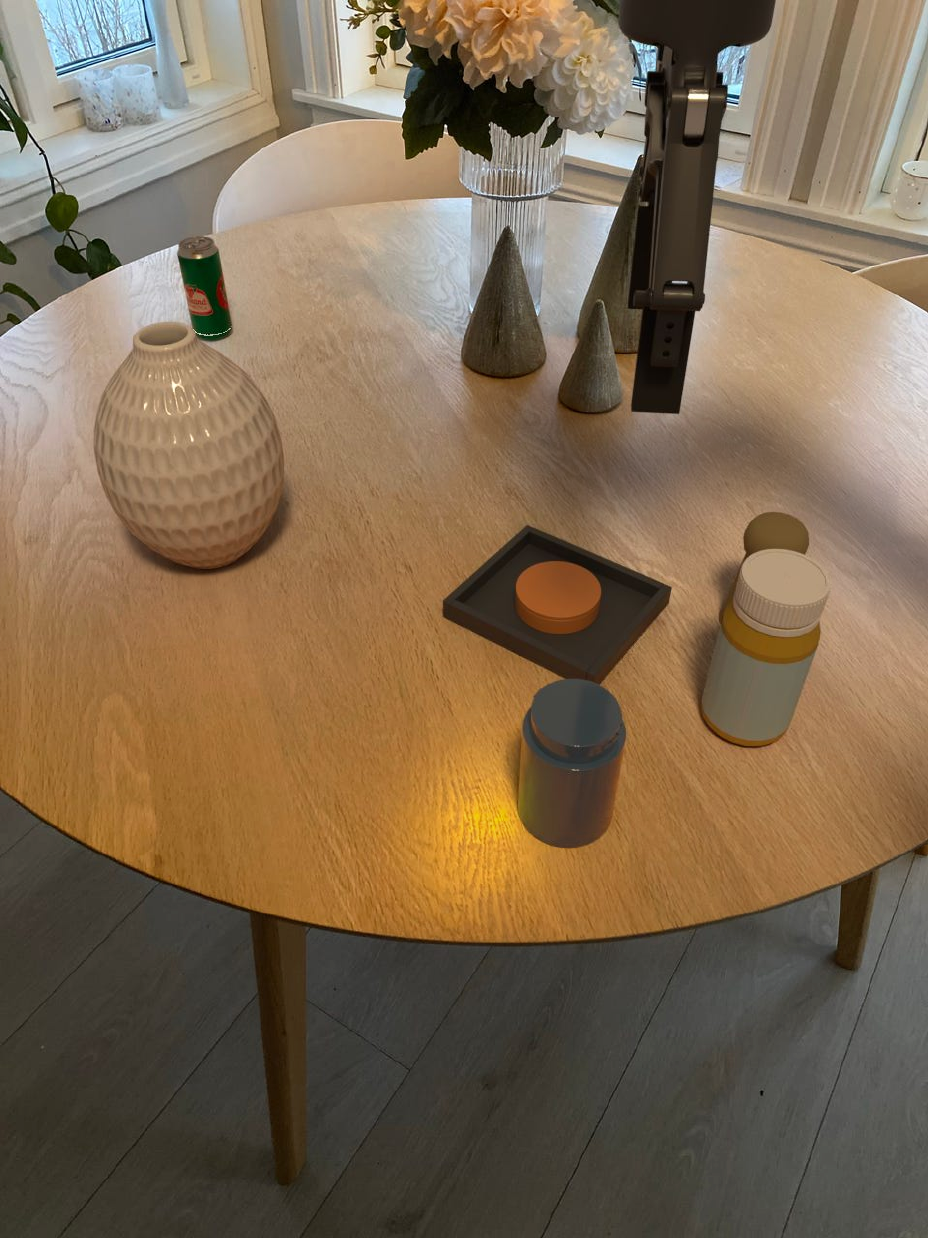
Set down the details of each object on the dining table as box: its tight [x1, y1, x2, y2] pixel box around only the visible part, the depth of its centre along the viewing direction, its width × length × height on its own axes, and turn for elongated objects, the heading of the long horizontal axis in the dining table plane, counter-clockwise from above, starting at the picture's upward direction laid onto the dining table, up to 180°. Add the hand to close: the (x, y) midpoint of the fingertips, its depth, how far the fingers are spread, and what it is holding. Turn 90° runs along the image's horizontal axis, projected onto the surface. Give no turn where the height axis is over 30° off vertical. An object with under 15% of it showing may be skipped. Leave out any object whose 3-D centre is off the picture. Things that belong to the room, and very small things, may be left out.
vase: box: [93, 321, 285, 570], centre depth 86 cm, size 16×16×22 cm
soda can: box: [176, 235, 233, 342], centre depth 122 cm, size 5×5×12 cm
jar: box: [517, 678, 627, 849], centre depth 67 cm, size 7×7×11 cm
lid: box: [515, 561, 601, 634], centre depth 86 cm, size 8×8×2 cm
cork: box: [718, 511, 810, 625], centre depth 82 cm, size 6×6×11 cm
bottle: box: [700, 549, 832, 747], centre depth 72 cm, size 7×7×15 cm
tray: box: [442, 524, 673, 686], centre depth 86 cm, size 16×14×2 cm
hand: (651, 354), depth 60 cm, fingers open, 13 cm apart
